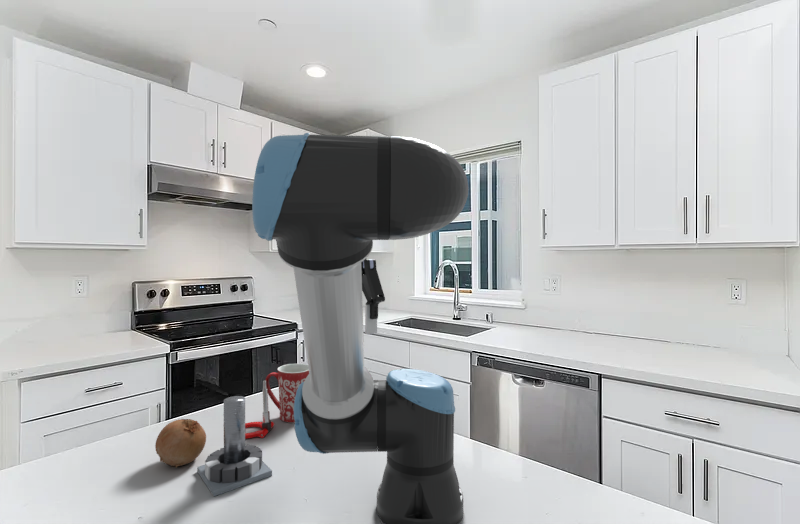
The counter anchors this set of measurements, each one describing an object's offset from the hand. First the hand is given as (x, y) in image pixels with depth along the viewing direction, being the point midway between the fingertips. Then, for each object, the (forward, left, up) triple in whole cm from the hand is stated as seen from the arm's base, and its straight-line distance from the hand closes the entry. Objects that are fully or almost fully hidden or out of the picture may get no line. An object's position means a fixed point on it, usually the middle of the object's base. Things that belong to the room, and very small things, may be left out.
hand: (353, 329), depth 96 cm
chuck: (+4, +26, -27) cm, 37 cm away
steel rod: (+4, +26, -26) cm, 37 cm away
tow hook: (+21, +16, -27) cm, 38 cm away
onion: (+16, +33, -27) cm, 46 cm away
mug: (+24, +5, -27) cm, 36 cm away
